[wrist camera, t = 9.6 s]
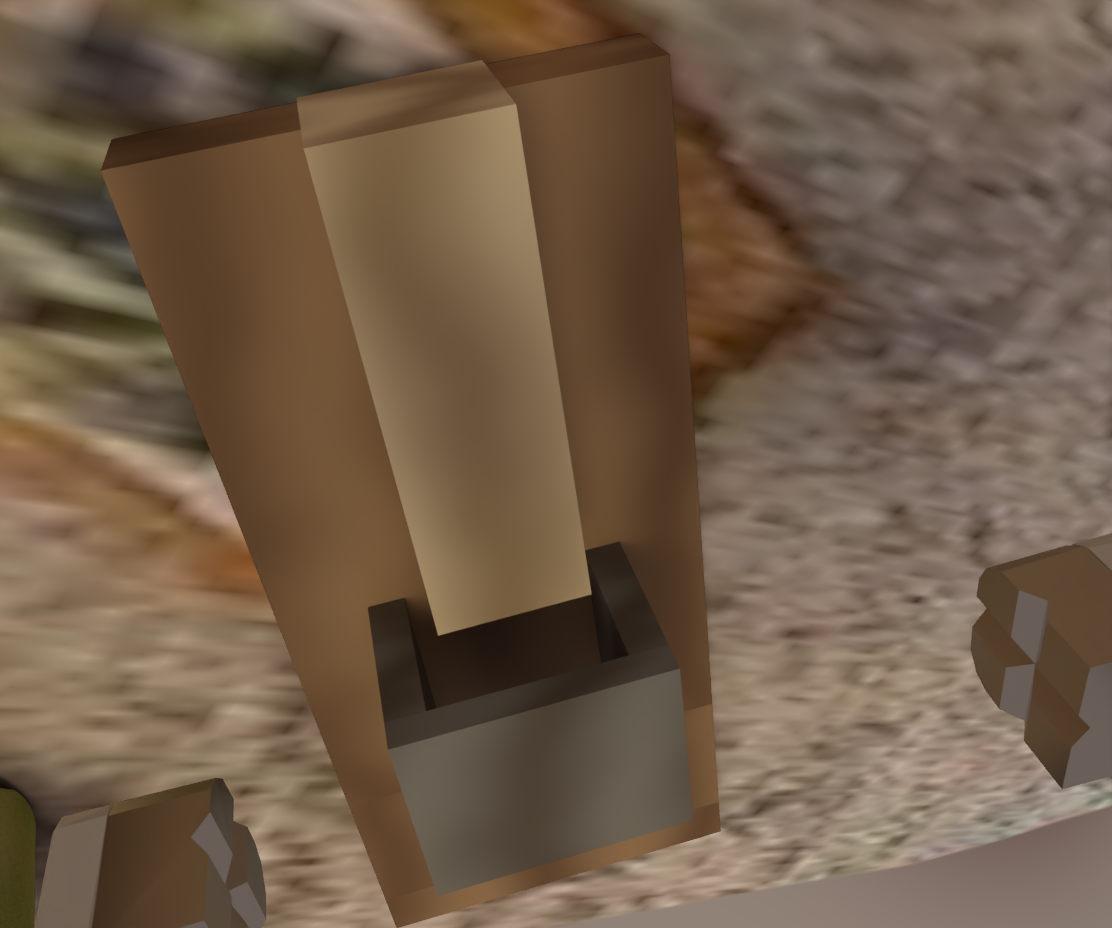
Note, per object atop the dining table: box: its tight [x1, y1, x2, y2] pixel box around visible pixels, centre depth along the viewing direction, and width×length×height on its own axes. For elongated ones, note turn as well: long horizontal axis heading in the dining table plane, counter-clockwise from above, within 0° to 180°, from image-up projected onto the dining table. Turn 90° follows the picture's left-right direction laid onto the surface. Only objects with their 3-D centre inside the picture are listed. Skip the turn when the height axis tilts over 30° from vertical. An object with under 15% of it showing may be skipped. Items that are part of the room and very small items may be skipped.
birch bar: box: [296, 60, 592, 636], centre depth 28 cm, size 4×14×4 cm, turn 9°
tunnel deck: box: [101, 33, 721, 928], centre depth 33 cm, size 14×32×8 cm, turn 9°
